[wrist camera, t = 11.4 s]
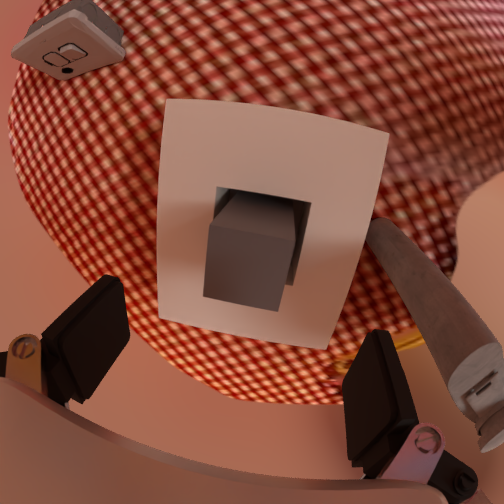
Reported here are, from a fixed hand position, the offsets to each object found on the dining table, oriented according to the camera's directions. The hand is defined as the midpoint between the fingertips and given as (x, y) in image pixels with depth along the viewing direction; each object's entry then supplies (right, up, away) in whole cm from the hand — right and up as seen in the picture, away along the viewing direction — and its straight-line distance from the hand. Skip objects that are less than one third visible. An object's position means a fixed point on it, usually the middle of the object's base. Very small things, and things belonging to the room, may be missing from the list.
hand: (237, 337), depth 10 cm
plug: (+1, +6, +14) cm, 16 cm away
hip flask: (+17, +1, +16) cm, 23 cm away
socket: (+2, +6, +15) cm, 17 cm away
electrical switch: (-16, +25, +10) cm, 31 cm away
